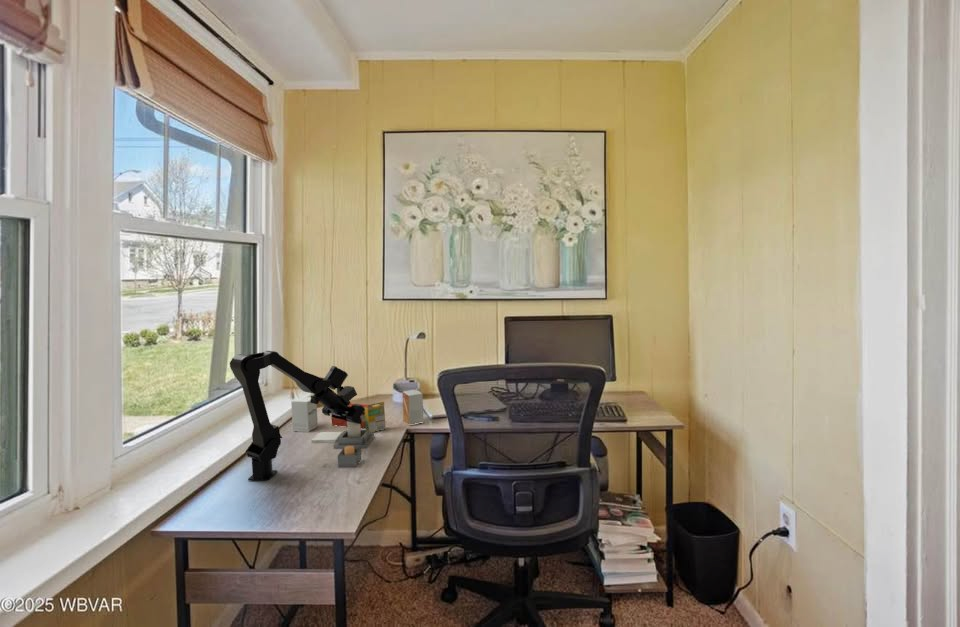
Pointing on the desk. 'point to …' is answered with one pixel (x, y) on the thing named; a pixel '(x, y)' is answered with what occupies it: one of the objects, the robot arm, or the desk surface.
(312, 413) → the supplement box
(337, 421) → the medicine box
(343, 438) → the frame
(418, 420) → the small box
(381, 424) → the crayon box
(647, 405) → the desk surface
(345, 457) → the block
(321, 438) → the pad
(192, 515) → the desk surface
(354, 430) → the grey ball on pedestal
